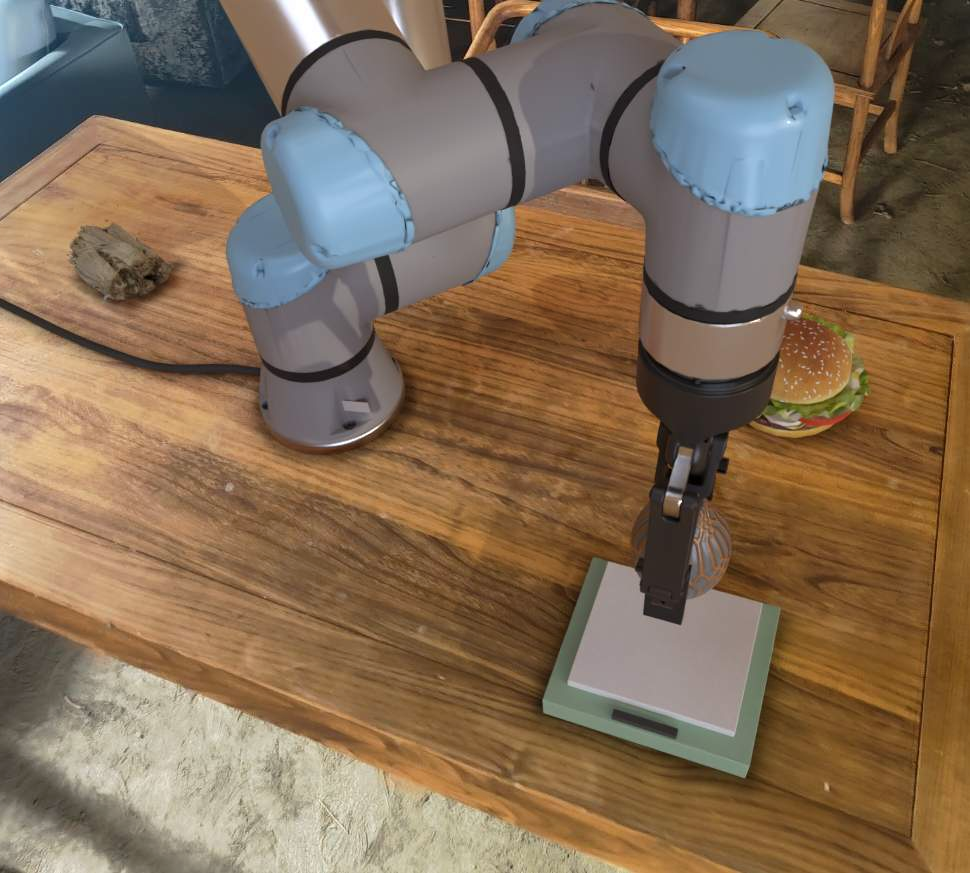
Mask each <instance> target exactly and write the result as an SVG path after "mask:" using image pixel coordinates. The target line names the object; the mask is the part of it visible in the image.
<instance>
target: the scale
mask: <svg viewBox="0 0 970 873" xmlns="http://www.w3.org/2000/svg"><path fill="white" fill-rule="evenodd" d="M640 580H641V579H640V578H639V576H638V574H637V572H635V568H634V567H632V566H628V565H624V564H620V563H617V562H613V561H609V560H606V559H602V558H598V557H594V556H593V557H592V559H591V562H590V563H589V567H588V570H587V572H586V576H585V578H584V581H583V583H582V587H581V590H580V592H579V595H578V598H577V601H576V604H575V606H574V609H573V612H572V614H571V618H570V621H569V623H568V626H567V629H566V632H565V634H564V637H563V640H562V643H561V645H560V649H559V651H558V654H557V656H556V660H555V663H554V665H553V669H552V672H551V674H550V677H549V680H548V683H547V685H546V688H545V691H544V694H543V696H542V699H541V700H542V713H543V714H546V715H548V716H551V717H554V718H558V719H561V720H564V721H567V722H570V723H573V724H576V725H580V726H583V727H586V728H588V729H591V730H595V731H598V732H600V733H604V734H607V735H610V736H613V737H616V738H619V739H621V740H626V741H629V742H630V743H631V742H632V743H634V744H638V745H641V746H644V747H647V748H650V749H652V750H656V751H660V752H662V753H665V754H668V755H672V756H675V757H678V758H681V759H684V760H687V761H690V762H694V763H696V764H700V765H703V766H706V767H709V768H712V769H715V770H718V771H721V772H725V773H727V774H730V775H733V776H737V777H740V778H743V779H745V778H747V774H748V773H749V769H750V766H751V763H752V756H753V751H754V746H755V742H756V736H757V731H758V727H759V726H758V725H759V721H760V715H761V711H762V706H763V701H764V696H765V691H766V686H767V682H768V681H767V680H768V675H769V670H770V665H771V660H772V656H773V650H774V645H775V641H776V640H775V639H776V634H777V630H778V624H779V620H780V615H781V610H782V607H780V606H777V605H773V604H770V603H766V602H762V601H758V600H755V599H751V598H747V597H743V596H739V595H736V594H732V593H728V592H725V591H721V590H718V589H714V588H712V589H711V590H710V591H708V592H707V593H705V594H703V595H701V596H699V597H696V598H693V599H687V600H686V605H685V611H684V617H683V620H682V624H681V625H677V624H674V623H670V622H667V621H663V620H660V619H656V618H652V617H649V616H645V615H643V608H644V598H645V593H641V592H640V586H639V584H640Z"/></svg>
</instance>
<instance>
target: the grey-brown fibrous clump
mask: <svg viewBox="0 0 970 873" xmlns="http://www.w3.org/2000/svg"><path fill="white" fill-rule="evenodd" d="M109 221H110V220H109V219H104V222H105V223H106V222H109ZM94 225H95V224H94V223H92V225H88V224H86V225H85V226H83V225H80V230H77V236H75V237H74V238H73V239H72V240H71V241H70V243H69V249H70V250H69V251H68V253H66V255H65V256H67V257H69V258H68V259H67V262H68V263H69V264H71V265H72V266H74V268H73V270H74V271H75V273H77V274H78V275H79V276H80V278H81V279H82V281H84V283H85V284H87V285H88V286H90V287H92V288H93V289H95V290H96V291H98V292H99V293H101V294H103V295H104V296H103V300H102V304H104V303H105V302H106V301H107V298H109V299H112V300H115V301H120V300H123V301H125V299H131V298H138V297H141V296H146V295H148V294H150V293H151V292H154V290H156V288H157V287H158V286H161V285H162V284H163V283H165V282H166V281H167V280H169V278H170V274H171V273H172V271H173V268H172V267H175V264H172V263H167V262H166V261H165V260H164V259H163V258H162V257H161V256H159V255H158V254H157V253H156V252H154V251H153V250H152V249H151V247H150V246H148V245H147V244H145V243H143V242H141V240H140V239H139V238H138V237H137V236H135V238H134V237H133V236H132V235H131V234H130V233H129V232H127V230H125V229H124V228H123V227H122V226H120V225H119V224H118V223H115V222H114V221H113V222H111V223H110V225H108V226H103V227H101V226H97V225H96V226H94ZM132 234H133V235H135V233H134V232H132Z"/></svg>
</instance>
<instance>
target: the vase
mask: <svg viewBox="0 0 970 873" xmlns="http://www.w3.org/2000/svg"><path fill="white" fill-rule="evenodd" d="M649 517H650V501H649V502H648V503H646V505H645V506H644V507H643V508H642V509H641V510H640V512H639V513H638V514H637V516H636V519H635V520H634V523H633V526H632V528H631V532H630V537H629V538H630V540H629V553H630V559H631V563H632V564H633V565H632V566H633V568H635V567H636V565H637V562H638V560H639V557H641V558H644V557H645V549H646V541H647V533H648V525H649ZM732 549H733V542H732V534H731V529H730V526H729V522H728V521H727V518H726V517H725V515H724V513H723V511H722V510H721V509H720V508H719V507H718V506H717V505H716V504H715V503H714V502H713V500H712V501H710V500H709V499H707V498H703V499H702V503H701V508H700V513H699V518H698V523H697V528H696V533H695V538H694V543H693V547H692V552H691V557H690V562H689V564H690V565H692V569H691V575H690V581H689V587H688V593H687V599H693V598H696V597H699V596H701V595H703V594H705V593H707V592H708V591H710V590H711V589H714V587H716V585H717V584H718V583H719V582H720V581H721V580H722V578H723V577H724V575H725V574H726V572H727V569H728V567H729V563H730V560H731V556H732ZM637 574H638V576H639V578H640V579H641V578H642V573H639V572H637ZM687 599H686V600H687Z"/></svg>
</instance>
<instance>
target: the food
mask: <svg viewBox="0 0 970 873" xmlns="http://www.w3.org/2000/svg"><path fill="white" fill-rule="evenodd" d="M854 347H855V337H854V336H853V334H851V332H849V331H848V330H845V331H844V330H842V329H841V328H839V326H838V325H837V324H832V323H830V322H827V321H825V320H823V319H822V318H820V317H817V316H812V315H808V314H805V313H802V316H801V317H800V318H799V319H798V320H794V321H791V320H787V322H786V326H785V331H784V335H783V340H782V343H781V346H780V357H779V362H778V367H777V371H776V376H775V380H774V384H773V389H772V393H771V397H770V400H769V402H768V404H767V406H766V408H765V409H764V410H763V412H762V413H761V414H760V415H759V416H758V417H757V418H756V419H754V420H753V421H752V422H750V423H748V424H747V425H750V426H751V427H752V428H753V429H755V430H756V431H760V432H763V433H765V434H769V435H770V436H771V435H772V436H775V437H783V438H792V439H798V438H804V437H810V436H815V435H817V434H819V433H821V432H823V431H826V430H828V429H830V428H831V427H832V426H833V425H835V424H837V423H839V422H841V421H842V420H844V419H845V418H846V417H848V416H849V415H850V414H851V413H852V412H856V411H857V410H858V409H859V408H860V407H861V406H862V404H863V402H864V400H865V397H866V396H870V395H871V386H870V385H869V375H868V373H867V370H866V366H865V362H864V359H863V358H862V357H861V356H859V355H857V354H855V351H854Z"/></svg>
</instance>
